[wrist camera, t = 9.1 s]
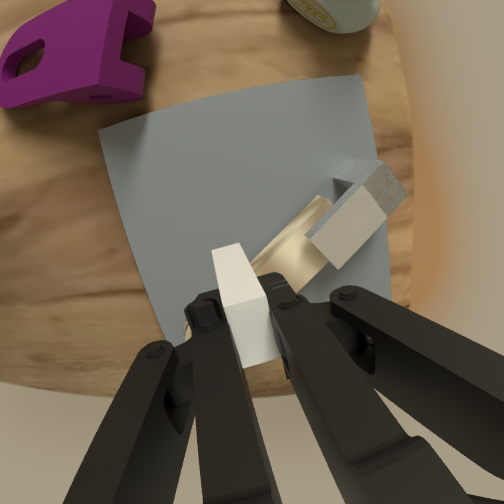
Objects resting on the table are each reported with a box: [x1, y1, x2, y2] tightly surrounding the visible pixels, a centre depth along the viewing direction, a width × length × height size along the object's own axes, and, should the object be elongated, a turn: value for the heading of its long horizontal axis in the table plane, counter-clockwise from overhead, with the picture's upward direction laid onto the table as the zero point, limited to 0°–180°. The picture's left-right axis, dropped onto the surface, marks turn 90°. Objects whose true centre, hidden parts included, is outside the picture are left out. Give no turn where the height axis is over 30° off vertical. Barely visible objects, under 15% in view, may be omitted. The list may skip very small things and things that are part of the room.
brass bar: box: [185, 195, 334, 342], centre depth 32 cm, size 20×5×3 cm, turn 135°
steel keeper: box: [304, 158, 408, 270], centre depth 30 cm, size 10×4×6 cm, turn 135°
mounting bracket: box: [0, 0, 156, 109], centre depth 24 cm, size 9×8×18 cm
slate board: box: [98, 74, 391, 347], centre depth 33 cm, size 27×28×2 cm
